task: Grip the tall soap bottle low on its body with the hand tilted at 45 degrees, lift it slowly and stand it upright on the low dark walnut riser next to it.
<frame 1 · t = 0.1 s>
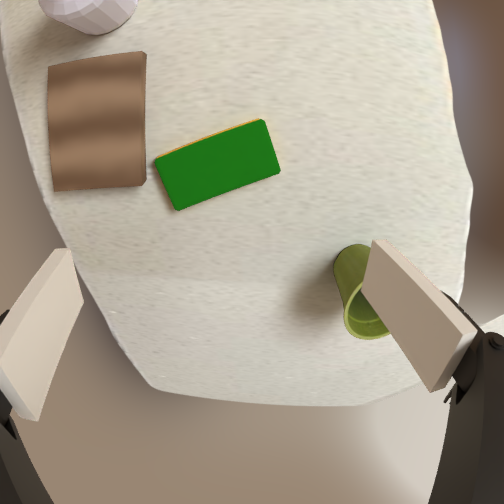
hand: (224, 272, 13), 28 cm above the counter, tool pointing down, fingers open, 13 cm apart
soap bottle: (105, 4, 26), on the counter
plant pot: (352, 263, 48), on the counter
walnut riser: (99, 121, 33), on the counter
dish sponge: (217, 161, 39), on the counter
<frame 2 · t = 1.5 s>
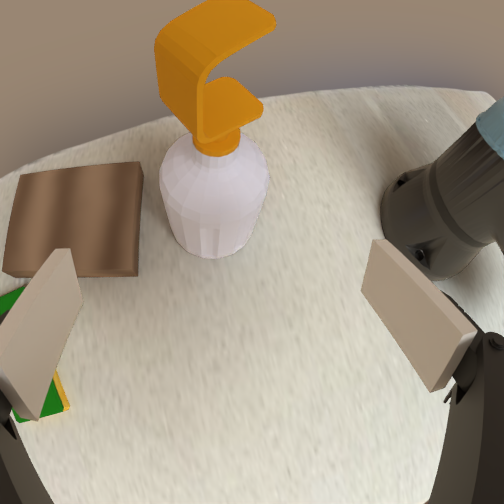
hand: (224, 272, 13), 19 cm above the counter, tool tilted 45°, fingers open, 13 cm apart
soap bottle: (212, 220, 34), on the counter
walnut riser: (75, 225, 32), on the counter
dish sponge: (28, 356, 27), on the counter
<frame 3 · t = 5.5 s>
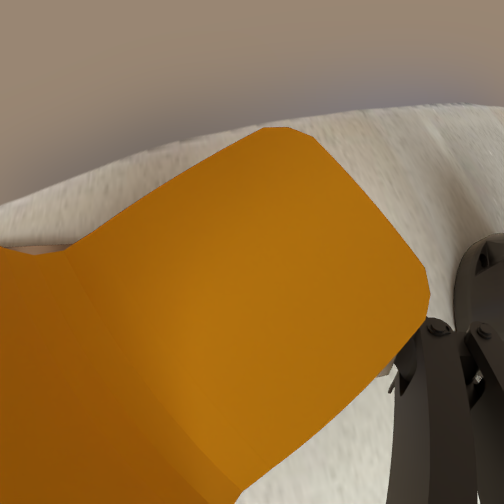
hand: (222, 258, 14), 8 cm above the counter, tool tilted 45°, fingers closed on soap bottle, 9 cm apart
soap bottle: (220, 338, 21), on the counter, touching gripper
walnut riser: (18, 333, 19), on the counter
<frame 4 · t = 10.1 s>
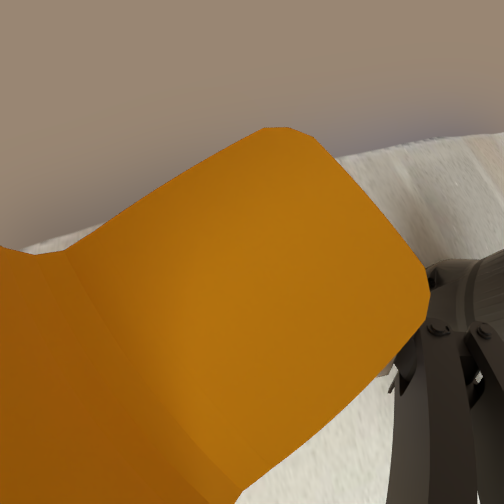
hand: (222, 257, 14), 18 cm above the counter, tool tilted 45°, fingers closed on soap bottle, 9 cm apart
soap bottle: (220, 338, 21), point 9 cm above the counter, touching gripper
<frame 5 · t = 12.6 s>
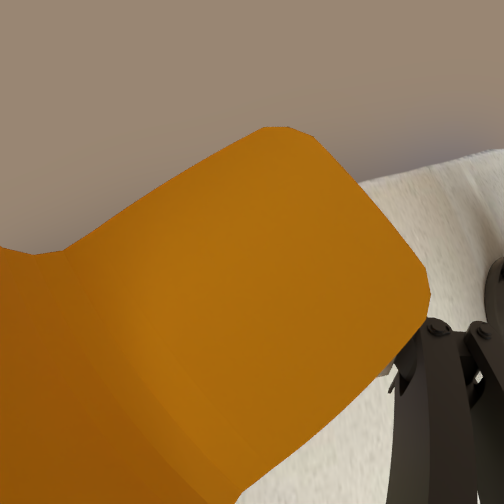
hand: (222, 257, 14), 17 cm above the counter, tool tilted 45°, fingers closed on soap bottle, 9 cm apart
soap bottle: (220, 338, 21), point 9 cm above the counter, touching gripper
when the fingers open (13 cm above the counter, at t = 14.8 s): soap bottle drops 1 cm, resting on walnut riser.
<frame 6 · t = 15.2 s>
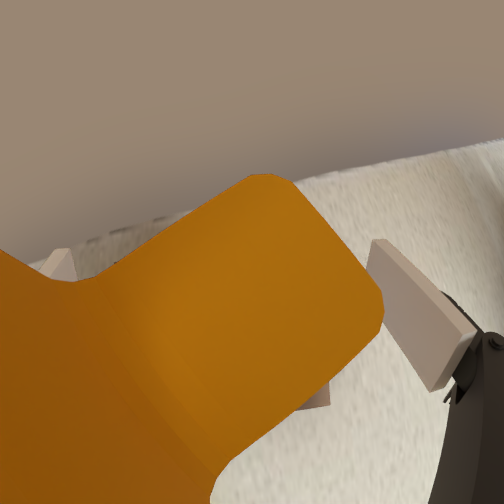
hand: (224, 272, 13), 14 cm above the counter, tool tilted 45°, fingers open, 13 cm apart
soap bottle: (219, 339, 22), point 3 cm above the counter, touching walnut riser
walnut riser: (218, 339, 25), on the counter
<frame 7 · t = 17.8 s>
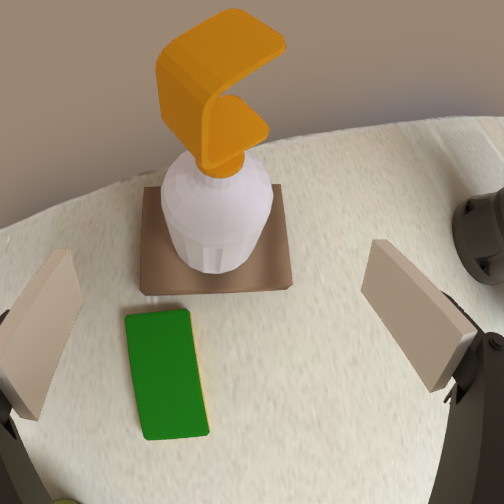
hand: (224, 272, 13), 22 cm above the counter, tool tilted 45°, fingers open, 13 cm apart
soap bottle: (214, 234, 34), point 3 cm above the counter, touching walnut riser
walnut riser: (213, 242, 37), on the counter
dish sponge: (168, 375, 32), on the counter
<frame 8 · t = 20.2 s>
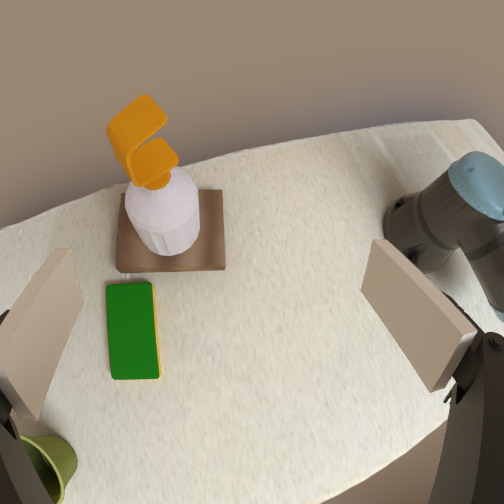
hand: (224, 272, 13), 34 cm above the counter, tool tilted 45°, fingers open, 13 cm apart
soap bottle: (169, 227, 46), point 3 cm above the counter, touching walnut riser
plant pot: (59, 454, 35), on the counter
walnut riser: (171, 234, 48), on the counter
dish sponge: (134, 332, 44), on the counter
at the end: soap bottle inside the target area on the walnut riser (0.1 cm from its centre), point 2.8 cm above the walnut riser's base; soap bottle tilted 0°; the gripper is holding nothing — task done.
